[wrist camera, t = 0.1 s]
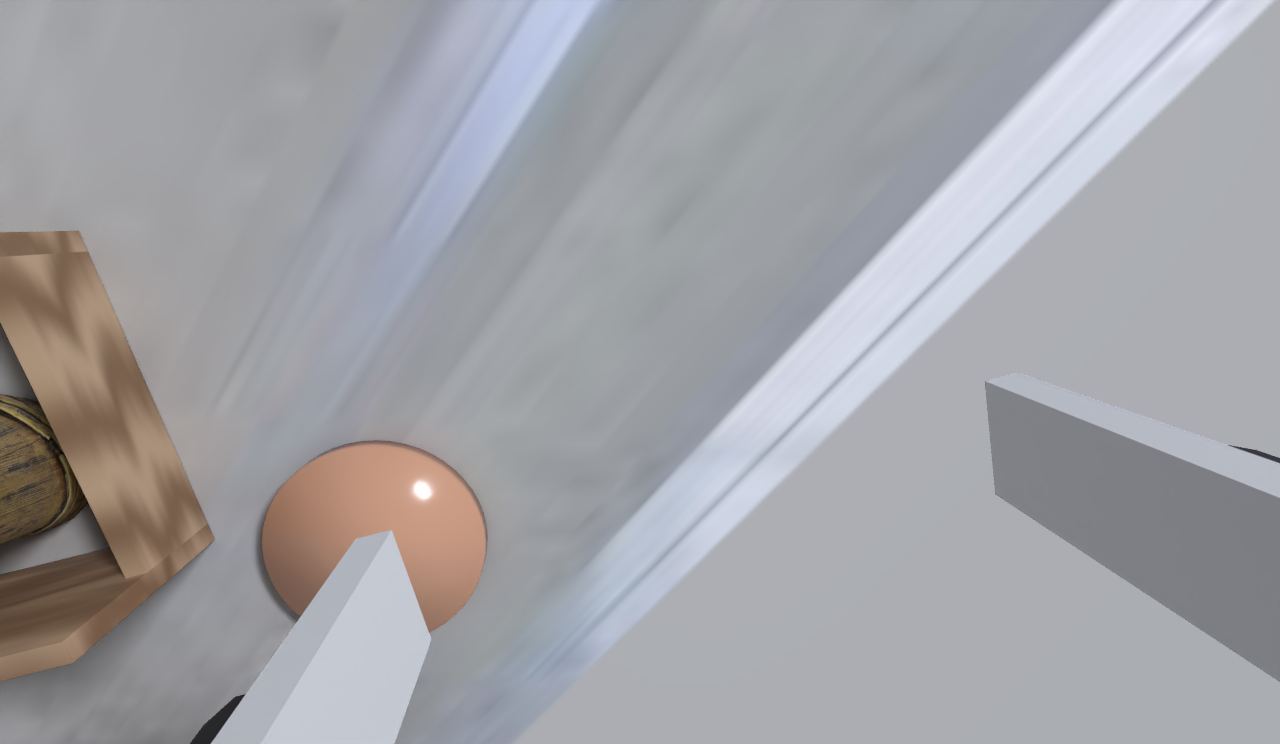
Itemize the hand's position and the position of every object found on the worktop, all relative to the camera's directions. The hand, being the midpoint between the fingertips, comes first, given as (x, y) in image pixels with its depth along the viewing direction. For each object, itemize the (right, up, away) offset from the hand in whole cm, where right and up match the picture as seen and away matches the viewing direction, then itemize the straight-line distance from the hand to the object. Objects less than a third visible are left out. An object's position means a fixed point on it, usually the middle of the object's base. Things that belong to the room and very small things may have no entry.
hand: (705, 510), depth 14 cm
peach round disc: (-19, -8, +29) cm, 36 cm away
